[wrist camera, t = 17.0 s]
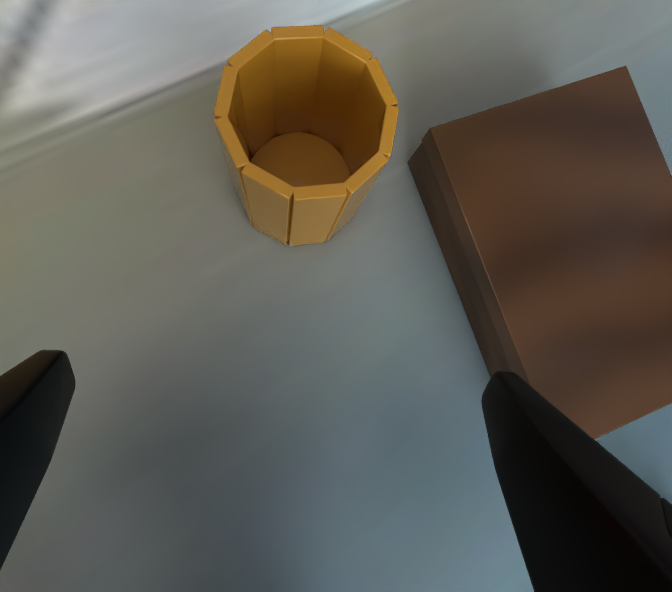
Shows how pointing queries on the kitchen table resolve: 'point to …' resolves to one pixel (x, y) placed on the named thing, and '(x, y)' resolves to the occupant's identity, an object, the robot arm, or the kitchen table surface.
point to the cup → (304, 130)
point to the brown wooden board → (561, 244)
